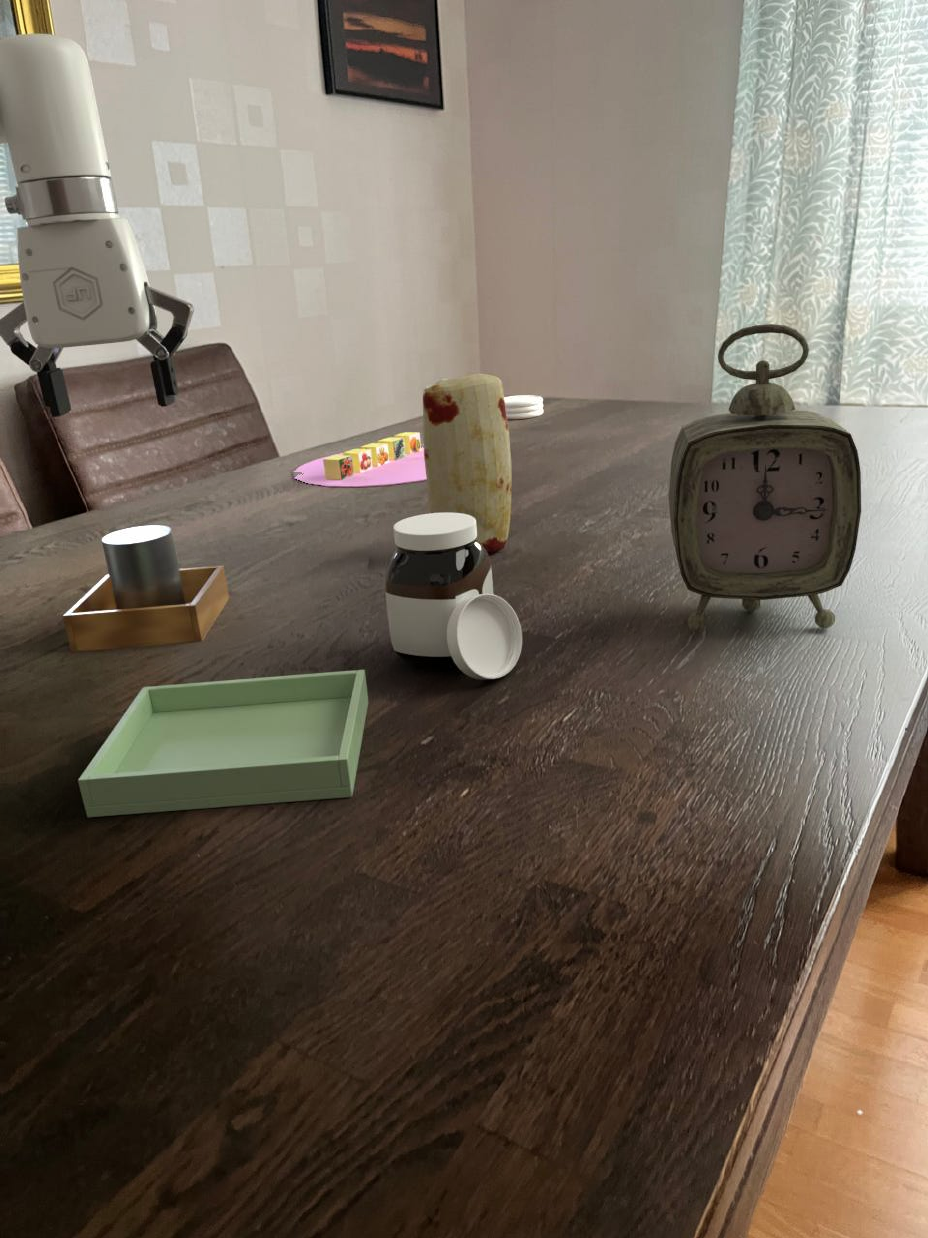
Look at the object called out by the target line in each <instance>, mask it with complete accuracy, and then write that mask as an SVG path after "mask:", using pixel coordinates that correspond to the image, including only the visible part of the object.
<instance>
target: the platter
mask: <svg viewBox="0 0 928 1238" xmlns="http://www.w3.org/2000/svg"><path fill="white" fill-rule="evenodd" d="M421 445H422V444H421V433H420V432H415V431H414V432H411V431H404V432H400V433H397V434H395V435H393V437H391V436H390V437H386V438H383V439H380V440H377V442H371V443H368V444H364V445H361V446H360V448H353V449H350V450H349V449H348V450H346V451H343V452H340V453H336V454H332V455H327V456H324V457H321V458H317V459H314V460H312V461H309V462H306V463H305V464H304V463H303V464H302V465H299V466H298V467H297V468H296V469H295V470H293V472H302V474H303V473H304V474H303V475H302V474H300V475H299V474H298V475H297V476H296V477H294V476H293V478H294V480H295V479H297V480H296V481H298V480H300V481H302V482H301V483H303V482H305V483H304V484H306V483H308V484H307V485H311V484H314V485H313V486H318V485H321V486H320V487H326V488H366V487H367V488H368V487H383V486H385V487H386V486H395V485H401V484H410V483H416V482H417V483H418V482H423V481H427V478H426V469H425V461H424V448H423V447H422V448H421ZM300 481H299V482H300Z"/></svg>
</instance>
